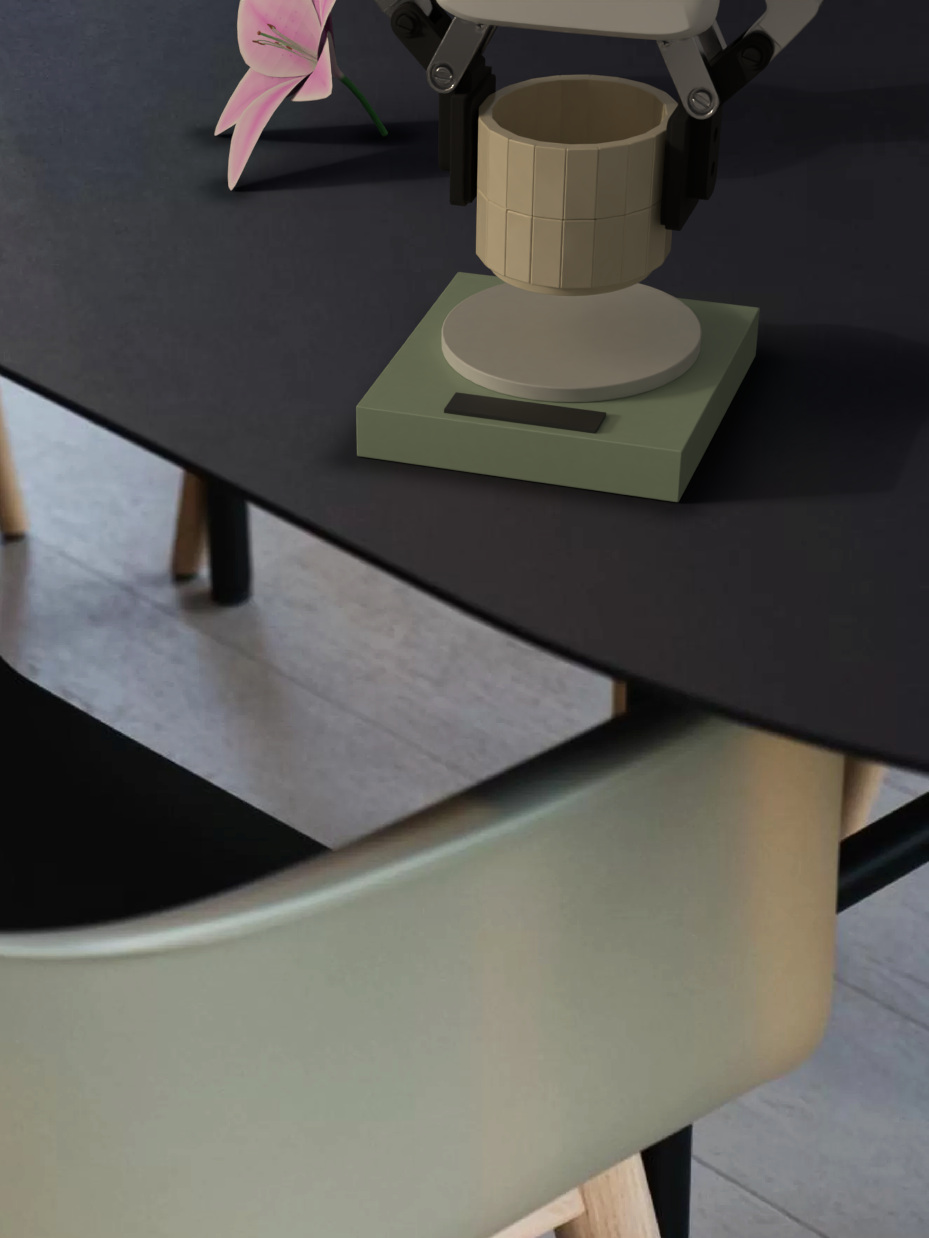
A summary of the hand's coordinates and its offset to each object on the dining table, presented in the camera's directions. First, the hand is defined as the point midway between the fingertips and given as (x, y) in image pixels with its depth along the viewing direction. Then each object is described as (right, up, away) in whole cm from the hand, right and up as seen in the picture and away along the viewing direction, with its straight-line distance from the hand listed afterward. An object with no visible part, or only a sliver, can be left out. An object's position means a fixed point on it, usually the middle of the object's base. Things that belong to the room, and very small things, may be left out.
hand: (574, 199), depth 90 cm
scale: (0, -6, +4) cm, 8 cm away
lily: (-9, +10, +25) cm, 28 cm away
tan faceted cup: (0, -2, +1) cm, 2 cm away
